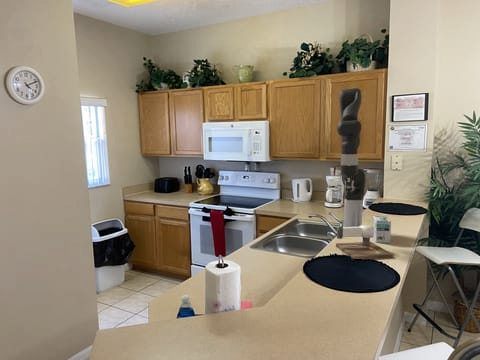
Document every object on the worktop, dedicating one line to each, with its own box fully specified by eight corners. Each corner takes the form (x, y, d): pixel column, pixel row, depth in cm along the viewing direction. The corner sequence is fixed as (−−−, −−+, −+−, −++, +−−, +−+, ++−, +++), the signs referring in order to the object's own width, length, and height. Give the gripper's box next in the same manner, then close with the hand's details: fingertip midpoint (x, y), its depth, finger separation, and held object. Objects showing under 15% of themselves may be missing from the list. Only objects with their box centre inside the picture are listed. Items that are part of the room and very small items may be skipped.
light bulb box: (390, 243, 163) (391, 221, 162) (375, 242, 165) (376, 220, 163) (385, 237, 174) (386, 216, 172) (371, 236, 175) (372, 215, 174)
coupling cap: (369, 234, 158) (369, 223, 158) (376, 238, 152) (376, 227, 152) (334, 236, 156) (334, 225, 155) (339, 239, 150) (340, 228, 149)
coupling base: (335, 246, 159) (336, 234, 158) (370, 244, 161) (371, 233, 160) (353, 259, 141) (354, 246, 140) (392, 257, 143) (393, 244, 143)
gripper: (341, 163, 169) (341, 196, 170) (340, 164, 155) (340, 200, 157) (358, 163, 166) (358, 197, 167) (357, 164, 153) (357, 201, 154)
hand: (349, 198), depth 162 cm, fingers open, 8 cm apart
